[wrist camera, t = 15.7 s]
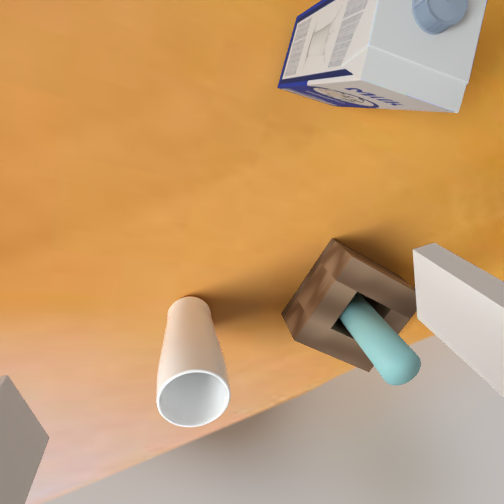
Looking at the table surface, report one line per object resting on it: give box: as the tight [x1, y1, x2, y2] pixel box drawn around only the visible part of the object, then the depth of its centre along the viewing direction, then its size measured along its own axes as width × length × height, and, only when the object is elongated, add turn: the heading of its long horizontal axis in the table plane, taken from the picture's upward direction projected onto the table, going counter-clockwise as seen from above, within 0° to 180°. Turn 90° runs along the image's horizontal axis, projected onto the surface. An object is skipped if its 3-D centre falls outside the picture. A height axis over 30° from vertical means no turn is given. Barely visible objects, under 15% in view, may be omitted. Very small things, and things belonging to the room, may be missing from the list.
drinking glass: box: [157, 296, 230, 427], centre depth 41 cm, size 7×7×15 cm
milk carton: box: [278, 0, 487, 113], centre depth 30 cm, size 7×7×20 cm
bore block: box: [282, 238, 417, 372], centre depth 48 cm, size 12×12×6 cm
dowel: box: [339, 292, 421, 385], centre depth 43 cm, size 4×4×14 cm
